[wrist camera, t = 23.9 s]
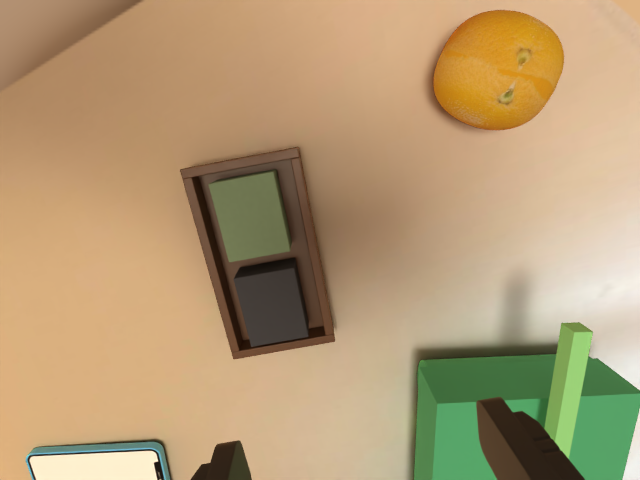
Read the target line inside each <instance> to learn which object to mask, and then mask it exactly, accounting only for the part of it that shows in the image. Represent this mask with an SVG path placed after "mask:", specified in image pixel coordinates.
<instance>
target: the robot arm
mask: <svg viewBox="0 0 640 480" xmlns="http://www.w3.org/2000/svg"><path fill="white" fill-rule="evenodd" d="M476 408H477V421H478V434H479V441H480V445H481V448H482V451H483V454H484V456H485V458H486V460H487V462H488V464H489V466H490V467H491V469H492V471H493V473H494V475H495V476H496V478H497V480H585V479H584V477H583V476H582V475H581V474H580V472H579V471H578V470H577V469H576V468H575V466H574V465H573V464H572V463H571V461H570V460H569V459H568V458H567V456H566V455H565V454H564V453H563V451H561V450H560V448H559V446H558V445H557V444H556V443H555V442H554V440H553V439H551V438H550V435H549V434H548V433H547V432H546V430H545V429H544V428H543V427H542V425H541V424H540V423H539V422H538V421H537V420H535V419H534V418H532V417H531V416H529V415H528V414H526V413H525V412H523V411H518V412H512V411H511V409H510V408H509V406H508V405H507V404H506V402H505V401H504V400H503V399H502V398H501V397H495V398H489V399H483V400H478V401H477V402H476ZM191 480H252V479H251V474H250V470H249V467H248V464H247V460H246V457H245V453H244V450H243V447H242V444H241V442H240V441H233V442H227V443H221V444H217V445H216V447H215V450H214V453H213V456H212V459H211V463H207V464H202V465H201V466H200V467H199V469H198V470H197V472H196V473H195V474H194V476H193V477H192V478H191Z"/></svg>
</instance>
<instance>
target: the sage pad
mask: <svg viewBox="0 0 640 480" xmlns="http://www.w3.org/2000/svg"><path fill="white" fill-rule="evenodd" d="M209 189H210V192H211V196H212V200H213V204H214V207H215V211H216V215H217V219H218V223H219V226H220V230H221V234H222V238H223V241H224V245H225V249H226V253H227V257H228V260H229V262H235V261H240V260H246V259H251V258H257V257H262V256H268V255H273V254H279V253H284V252H290V250H291V244H292V240H291V235H290V230H289V226H288V221H287V216H286V211H285V207H284V202H283V197H282V192H281V188H280V183H279V178H278V173H277V169H272V170H267V171H262V172H256V173H251V174H246V175H240V176H235V177H230V178H224V179H219V180H216V181H214V182H212V183H209Z"/></svg>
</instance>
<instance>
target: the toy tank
mask: <svg viewBox="0 0 640 480" xmlns="http://www.w3.org/2000/svg"><path fill="white" fill-rule="evenodd" d="M592 334H593V331H591V330H590V329H588V328H587V327H585V326H584V325H582V324H581V323H579V322H578V323H561V329H560V335H559V342H558V348H557V354H543V355H520V356H498V357H475V358H452V359H429V360H421V361H420V362H419V365H418V373H417V383H418V404H417V425H416V446H415V467H414V480H497V478H496V476H495V475H494V473H493V471H492V469H491V467H490V466H489V464H488V462H487V460H486V458H485V456H484V454H483V451H482V448H481V445H480V441H479V434H478V421H477V408H476V402H477V401H478V400H483V399H489V398H495V397H501V398H502V399H503V400H504V401H505V402H506V404H507V405H508V406H509V408H510V409H511V411H512V412H518V411H523V412H525V413H526V414H528V415H529V416H531V417H532V418H534V419H535V420H537V421H538V422H539V423H540V424H541V425H542V427H543V428H544V429H545V430H546V432H547V433H548V434H549V435H550V438H551V439H553V440H554V442H555V443H556V444H557V445H558V446H559V448H560V450H561V451H563V453H564V454H565V455H566V456H567V458H568V459H569V460H570V461H571V463H572V464H573V465H574V466H575V468H576V469H577V470H578V471H579V472H580V474H581V475H582V476H583V477H584V479H585V480H622V478H623V474H624V470H625V466H626V462H627V458H628V454H629V450H630V446H631V442H632V437H633V433H634V429H635V425H636V421H637V417H638V413H639V409H640V390H638V389H637V388H636V387H634V386H633V385H632V384H630V383H629V382H628V381H626V380H625V379H624V378H622V377H621V376H620V375H619V374H617V373H616V372H615V371H613V370H612V369H611V368H609V367H608V366H607V365H605V364H604V363H603V362H601V361H600V360H599V359H597V358H596V359H592V358H591V357H589V356H588V355H589V350H590V344H591V339H592Z"/></svg>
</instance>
